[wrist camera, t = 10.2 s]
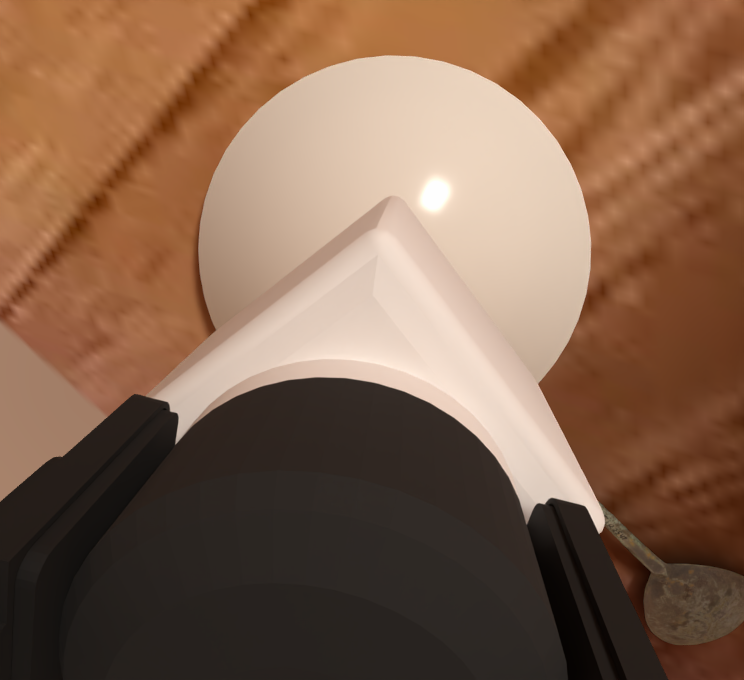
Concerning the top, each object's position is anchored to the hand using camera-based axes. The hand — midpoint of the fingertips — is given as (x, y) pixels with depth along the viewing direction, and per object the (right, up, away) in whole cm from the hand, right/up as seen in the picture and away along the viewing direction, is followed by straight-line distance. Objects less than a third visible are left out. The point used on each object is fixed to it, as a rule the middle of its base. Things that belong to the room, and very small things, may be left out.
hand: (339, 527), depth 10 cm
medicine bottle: (+1, +3, +8) cm, 8 cm away
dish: (+2, +7, +21) cm, 22 cm away
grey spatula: (+16, -8, +26) cm, 31 cm away
